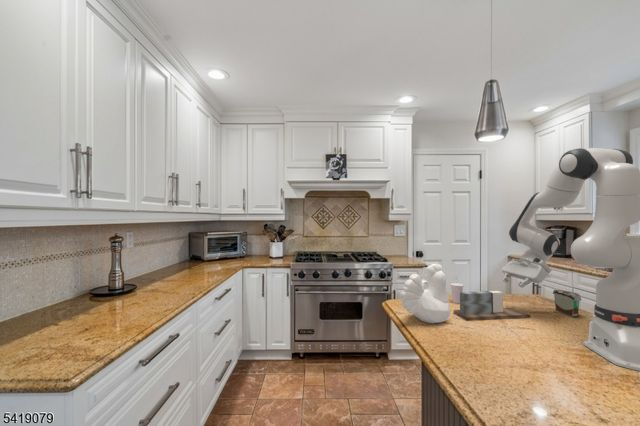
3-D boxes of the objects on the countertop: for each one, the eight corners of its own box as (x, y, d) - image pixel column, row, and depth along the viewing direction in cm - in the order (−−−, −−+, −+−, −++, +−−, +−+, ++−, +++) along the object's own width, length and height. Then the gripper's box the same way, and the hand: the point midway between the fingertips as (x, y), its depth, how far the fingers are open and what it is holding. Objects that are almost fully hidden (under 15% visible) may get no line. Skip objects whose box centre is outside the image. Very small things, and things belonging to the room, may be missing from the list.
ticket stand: (513, 310, 136) (512, 288, 137) (530, 317, 126) (530, 293, 127) (453, 313, 133) (453, 290, 133) (466, 320, 123) (466, 295, 123)
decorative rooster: (435, 312, 134) (434, 260, 135) (459, 324, 119) (458, 265, 120) (388, 316, 128) (387, 262, 128) (407, 330, 113) (407, 268, 113)
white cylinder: (498, 310, 132) (498, 290, 132) (503, 312, 129) (502, 292, 129) (488, 310, 131) (488, 291, 131) (493, 312, 128) (492, 292, 128)
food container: (589, 319, 125) (589, 296, 125) (575, 318, 125) (575, 296, 125) (565, 309, 137) (565, 289, 138) (553, 309, 138) (552, 289, 138)
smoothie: (460, 300, 152) (460, 275, 152) (465, 304, 146) (465, 277, 146) (448, 300, 153) (448, 274, 153) (453, 304, 146) (452, 277, 147)
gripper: (509, 254, 143) (491, 274, 141) (546, 261, 122) (526, 284, 121) (517, 263, 143) (499, 283, 142) (555, 271, 123) (535, 294, 121)
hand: (512, 283), depth 131 cm, fingers open, 8 cm apart
